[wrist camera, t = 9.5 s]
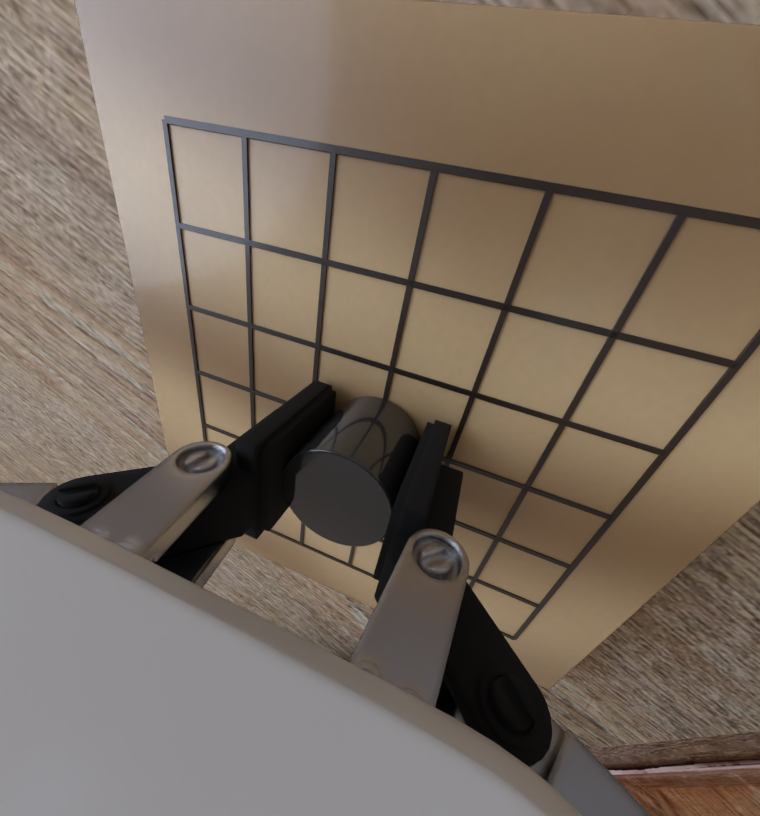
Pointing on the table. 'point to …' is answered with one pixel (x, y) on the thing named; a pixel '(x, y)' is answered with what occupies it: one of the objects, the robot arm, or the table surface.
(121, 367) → the table surface
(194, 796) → the robot arm
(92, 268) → the table surface
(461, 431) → the board
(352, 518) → the black stone
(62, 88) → the table surface
